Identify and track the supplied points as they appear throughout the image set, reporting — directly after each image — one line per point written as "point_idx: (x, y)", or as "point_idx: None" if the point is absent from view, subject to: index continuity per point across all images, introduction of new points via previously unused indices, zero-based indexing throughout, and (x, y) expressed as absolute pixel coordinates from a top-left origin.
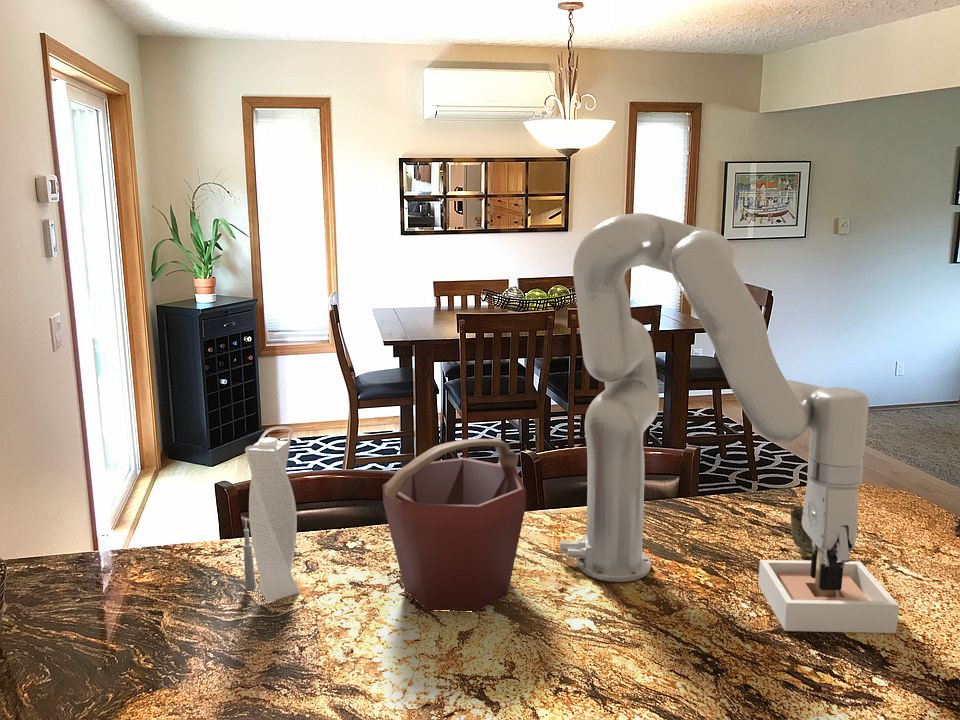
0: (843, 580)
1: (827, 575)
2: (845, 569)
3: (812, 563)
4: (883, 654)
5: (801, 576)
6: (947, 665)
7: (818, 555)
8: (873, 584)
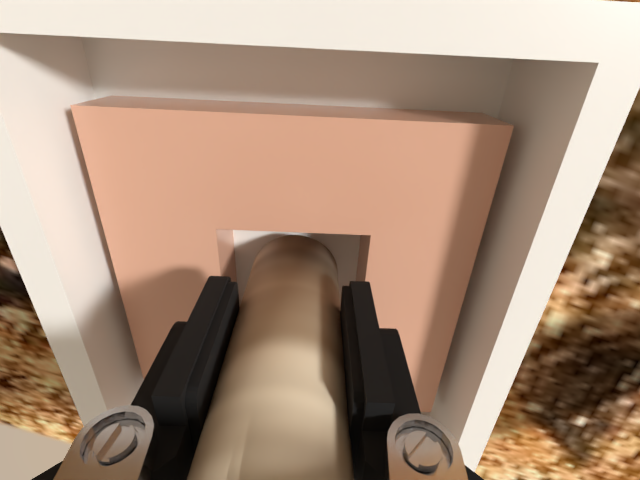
0: None
1: (161, 366)
2: (448, 422)
3: (358, 341)
4: (8, 313)
5: (442, 242)
6: (15, 422)
7: (253, 445)
8: None
